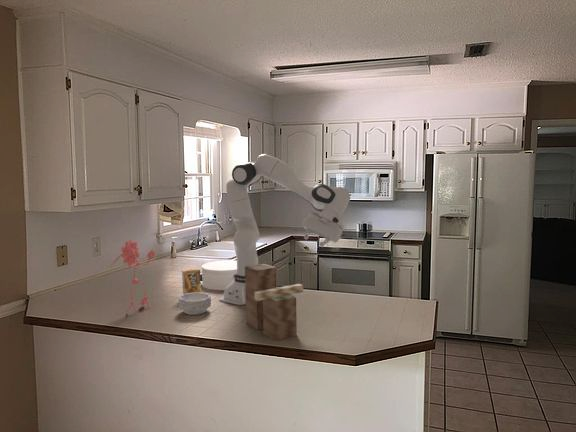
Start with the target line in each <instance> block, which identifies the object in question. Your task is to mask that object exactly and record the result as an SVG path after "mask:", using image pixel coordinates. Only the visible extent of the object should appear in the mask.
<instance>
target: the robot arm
mask: <svg viewBox="0 0 576 432" xmlns="http://www.w3.org/2000/svg"><path fill="white" fill-rule="evenodd" d="M262 177H264V178H265V179H268V180H270V181H271V182H273V183H275V184H277V185H279V186H281V187H283V188H285V189H287V190H289V191H291V192H293V193H294V194H296V195H297V196H299V197H300V198H302V199H303V200H305V201H307V202H308V203H309V204H310V205H311V207H312V208H313V209H314V210H316V211H317V212H320V213H317V212H315V211H312V212H310V213H309V214H308V215H307V217H305V218H304V220H303V222H302V223H301V226H302V227H303V228H304V229H305V230H304V231H305V233H304V235H303V238H304V239H305V240H308V239H309V238H310V236H309V234H310V233H311V232H312V233H314V234H315V235H318V236H320V237H322V238H324V241H320V242H319V246H320V247H321V248H324V246H325V245H326V244H329V242H332V243H333V244H334V243H335V244H336V243H338V242H339V240H340V238H341V236H342V235H343V230H344V229H345V224H344V223H343V222H342V221H341V220H340V218H341V216H342V214H343V213H344V211H345V210H346V209H347V208H348V207H347V206H348V205H349V203H350V201H351V194H350V192H349V191H348V190H347V189H346V188H344V187H342V186H329V185H327V184H324V183H319V184H316V185H315V186H314V187H313V188H311V187H309V185H306V184H304V183H303V182H302V181H301V180H300V179H299V178H298V176H297V174H296V172H295V171H294V169H293V168H292V166H290V165H289V164H288V163H286V162H285V161H283V160H281V159H279V158H277V157H275V156H273V155H270V154H268V153H267V154H266V153H262V154H260V155H258V157H256V160H255V161H246V162H243V163H239V164H236V165H235V166H234V168H233V169H232V171H231V178H232V179H230V180H229V181H227V183H226V186H225V188H226V189H225V190H226V200H227V203H228V208H229V212H230V216H231V219H232V221H233V223H234V225H235V228H236V231H235V233H234V235H233V245H234V251H235V256H236V261H237V274H235V275H234V277H235V279H234V281H233V282H232V283H231V284H229V285H228V286H227V287H226V288H225V290H223V295H222V296H220V297H219V301H220V302H223V303H224V302H225V303H227V304H232V305H237V306H238V305H239V306H242V305H246V292H245V266H251V265H258V264H259V256H258V251H257V242H258V241H259V239H260V230H259V227H258V223H257V221H256V219H255V217H254V213H253V210H252V204H251V200H250V195H249V190H248V189H249V187H250V186H252V185H253V184H255V183H258V182H259V181H260V180H261V179H262ZM234 277H233V278H234Z"/></svg>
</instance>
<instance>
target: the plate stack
mask: <svg viewBox="0 0 576 432" xmlns="http://www.w3.org/2000/svg"><path fill="white" fill-rule="evenodd" d="M235 274H237V259H235V260H232V259H231V260H228V259H227V260H215V261H209V262H206V263H203V264H202V265H201V282H202V283H201V287H203V288H205V289H206V290H207V289H208V290H213V291H224V290H225V288H226V287H227V286H228V285H229V284H231V283H232V282H233V281H234V279H235V277H234V275H235ZM233 277H234V278H233Z"/></svg>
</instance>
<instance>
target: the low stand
mask: <svg viewBox="0 0 576 432" xmlns="http://www.w3.org/2000/svg"><path fill="white" fill-rule="evenodd" d="M297 330H298V329H297V297H295V296H294V294H291V295H286V296H281V297H276V298H271V299H266V300H263V334H264V335H266V336H267V337H269V338H271V339H273V340H275V341H280V340H283V339H288V338H292V337H296V336H297V332H298V331H297Z"/></svg>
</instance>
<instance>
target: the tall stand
mask: <svg viewBox="0 0 576 432" xmlns="http://www.w3.org/2000/svg"><path fill="white" fill-rule="evenodd" d="M273 288H278V287H277V267H276V266H273V265H270V264H267V263H260V264H259V263H258V265H251V266H245V292H246V304H245V316H246V317H245V323H246V325H248V326H250V327H252V328H254V330H257V331H259V330H262V329H263V300H260V301H257V300H255V299H254V292H257V291H262V290H268V289H273Z"/></svg>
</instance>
